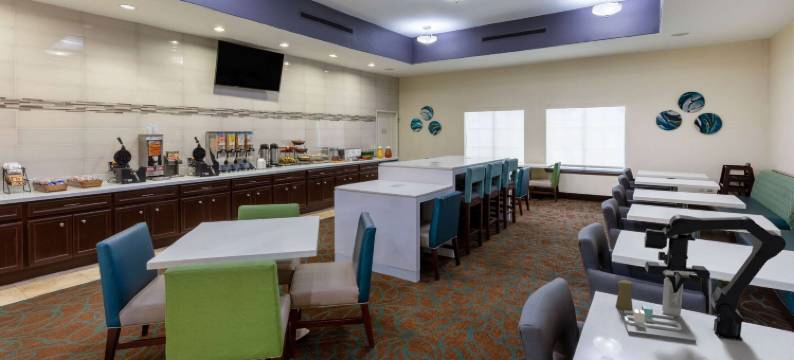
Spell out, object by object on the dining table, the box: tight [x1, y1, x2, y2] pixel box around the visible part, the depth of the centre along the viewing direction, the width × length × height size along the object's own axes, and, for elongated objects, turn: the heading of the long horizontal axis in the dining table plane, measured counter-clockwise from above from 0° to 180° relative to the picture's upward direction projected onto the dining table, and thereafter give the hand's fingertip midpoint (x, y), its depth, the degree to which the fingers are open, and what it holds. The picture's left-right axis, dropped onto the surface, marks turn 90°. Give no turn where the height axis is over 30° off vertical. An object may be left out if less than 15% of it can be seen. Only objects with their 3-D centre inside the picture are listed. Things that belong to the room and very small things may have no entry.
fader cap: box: [633, 308, 645, 323], centre depth 151 cm, size 3×3×4 cm
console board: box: [620, 304, 697, 344], centre depth 150 cm, size 20×16×5 cm
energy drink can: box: [661, 274, 684, 318], centre depth 159 cm, size 6×6×15 cm
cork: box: [615, 279, 634, 312], centre depth 166 cm, size 6×6×11 cm
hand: (674, 292), depth 150 cm, fingers closed
